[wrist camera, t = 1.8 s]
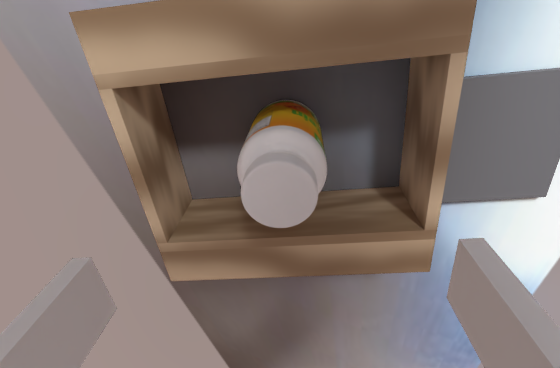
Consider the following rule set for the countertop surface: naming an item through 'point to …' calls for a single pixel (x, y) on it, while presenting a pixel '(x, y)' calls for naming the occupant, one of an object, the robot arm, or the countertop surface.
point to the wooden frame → (272, 58)
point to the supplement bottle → (282, 165)
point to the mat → (505, 137)
